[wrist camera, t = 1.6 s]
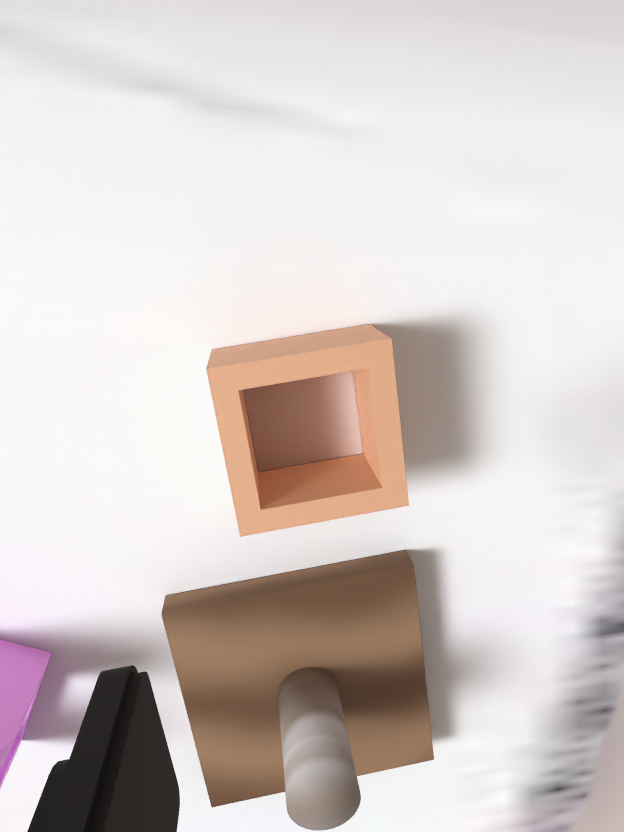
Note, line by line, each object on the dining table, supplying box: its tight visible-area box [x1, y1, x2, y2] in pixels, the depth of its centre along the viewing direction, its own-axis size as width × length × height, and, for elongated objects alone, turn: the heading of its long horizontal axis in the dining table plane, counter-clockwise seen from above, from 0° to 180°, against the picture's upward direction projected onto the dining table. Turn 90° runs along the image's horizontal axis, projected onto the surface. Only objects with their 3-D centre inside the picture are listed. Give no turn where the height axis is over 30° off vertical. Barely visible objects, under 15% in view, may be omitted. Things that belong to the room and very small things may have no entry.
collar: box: [206, 324, 409, 537], centre depth 25 cm, size 7×7×4 cm
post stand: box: [162, 550, 434, 830], centre depth 27 cm, size 12×12×8 cm
